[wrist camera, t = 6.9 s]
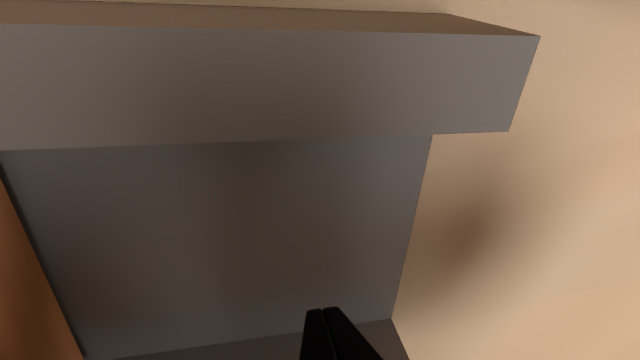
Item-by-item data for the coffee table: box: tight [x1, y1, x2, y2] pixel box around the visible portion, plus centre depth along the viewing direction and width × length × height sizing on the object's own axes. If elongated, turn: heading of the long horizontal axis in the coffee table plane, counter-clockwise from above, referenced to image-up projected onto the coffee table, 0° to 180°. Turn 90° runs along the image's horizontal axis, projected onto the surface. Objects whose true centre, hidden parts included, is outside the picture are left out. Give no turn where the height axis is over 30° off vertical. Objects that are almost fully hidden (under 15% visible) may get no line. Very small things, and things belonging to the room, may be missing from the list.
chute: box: [0, 0, 541, 360], centre depth 10 cm, size 14×20×4 cm
